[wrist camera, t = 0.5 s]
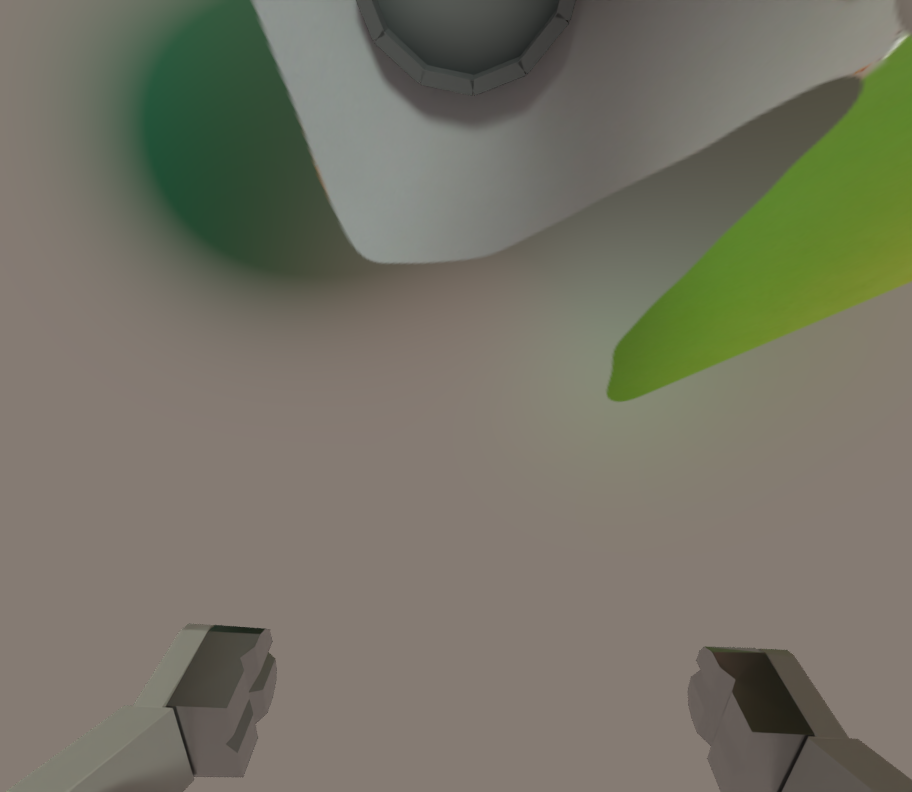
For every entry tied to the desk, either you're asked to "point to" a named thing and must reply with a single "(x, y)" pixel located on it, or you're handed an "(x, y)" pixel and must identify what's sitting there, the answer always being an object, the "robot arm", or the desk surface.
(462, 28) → the round dish
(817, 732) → the robot arm
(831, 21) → the desk surface
